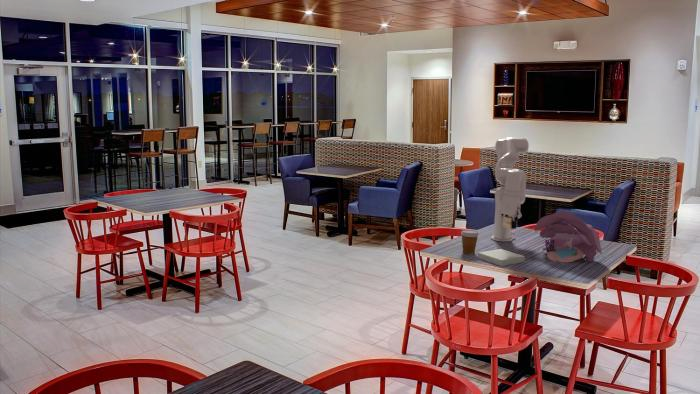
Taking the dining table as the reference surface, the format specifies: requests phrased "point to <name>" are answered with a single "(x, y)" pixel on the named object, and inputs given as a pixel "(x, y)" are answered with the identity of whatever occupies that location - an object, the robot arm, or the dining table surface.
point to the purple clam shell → (568, 237)
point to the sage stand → (501, 257)
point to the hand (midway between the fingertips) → (509, 226)
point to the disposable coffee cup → (469, 241)
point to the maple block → (508, 222)
